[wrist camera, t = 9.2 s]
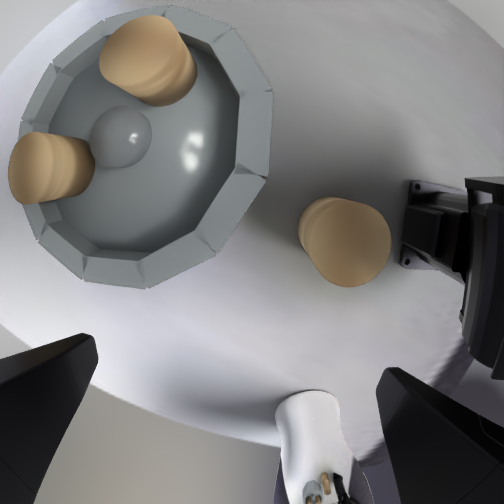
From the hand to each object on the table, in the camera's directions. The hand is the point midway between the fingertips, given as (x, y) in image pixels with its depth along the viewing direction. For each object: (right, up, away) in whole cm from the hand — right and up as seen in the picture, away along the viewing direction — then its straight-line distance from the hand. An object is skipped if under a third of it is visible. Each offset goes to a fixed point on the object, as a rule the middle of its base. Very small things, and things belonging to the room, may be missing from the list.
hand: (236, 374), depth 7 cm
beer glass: (+6, -12, +15) cm, 20 cm away
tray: (-8, +11, +10) cm, 17 cm away
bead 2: (-5, +15, +8) cm, 18 cm away
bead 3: (+6, +5, +11) cm, 13 cm away
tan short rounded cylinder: (-13, +10, +9) cm, 18 cm away
